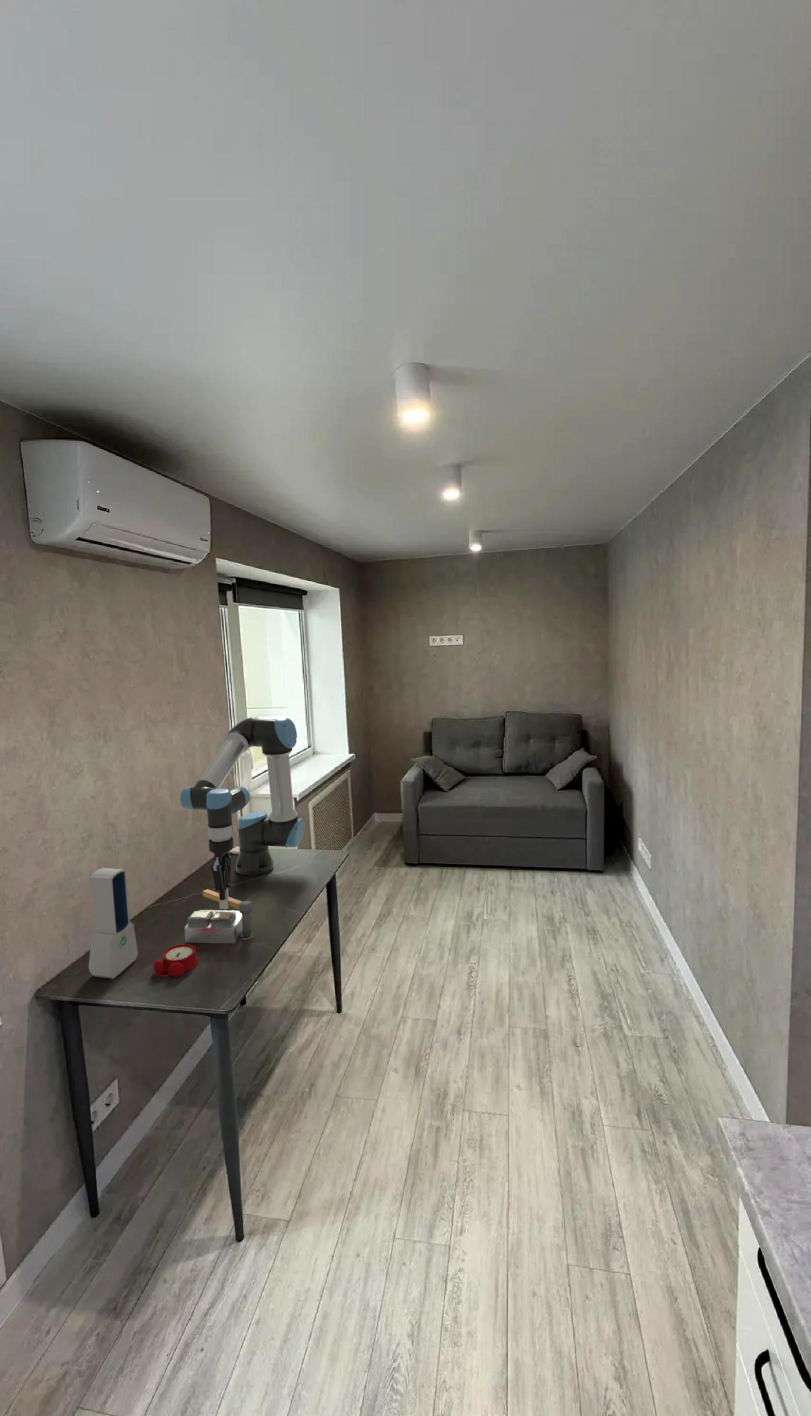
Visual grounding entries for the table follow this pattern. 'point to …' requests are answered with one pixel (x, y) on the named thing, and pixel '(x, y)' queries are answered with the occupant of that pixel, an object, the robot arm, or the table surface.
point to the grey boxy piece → (215, 927)
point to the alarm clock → (177, 960)
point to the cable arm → (243, 908)
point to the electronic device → (111, 924)
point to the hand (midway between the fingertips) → (224, 908)
